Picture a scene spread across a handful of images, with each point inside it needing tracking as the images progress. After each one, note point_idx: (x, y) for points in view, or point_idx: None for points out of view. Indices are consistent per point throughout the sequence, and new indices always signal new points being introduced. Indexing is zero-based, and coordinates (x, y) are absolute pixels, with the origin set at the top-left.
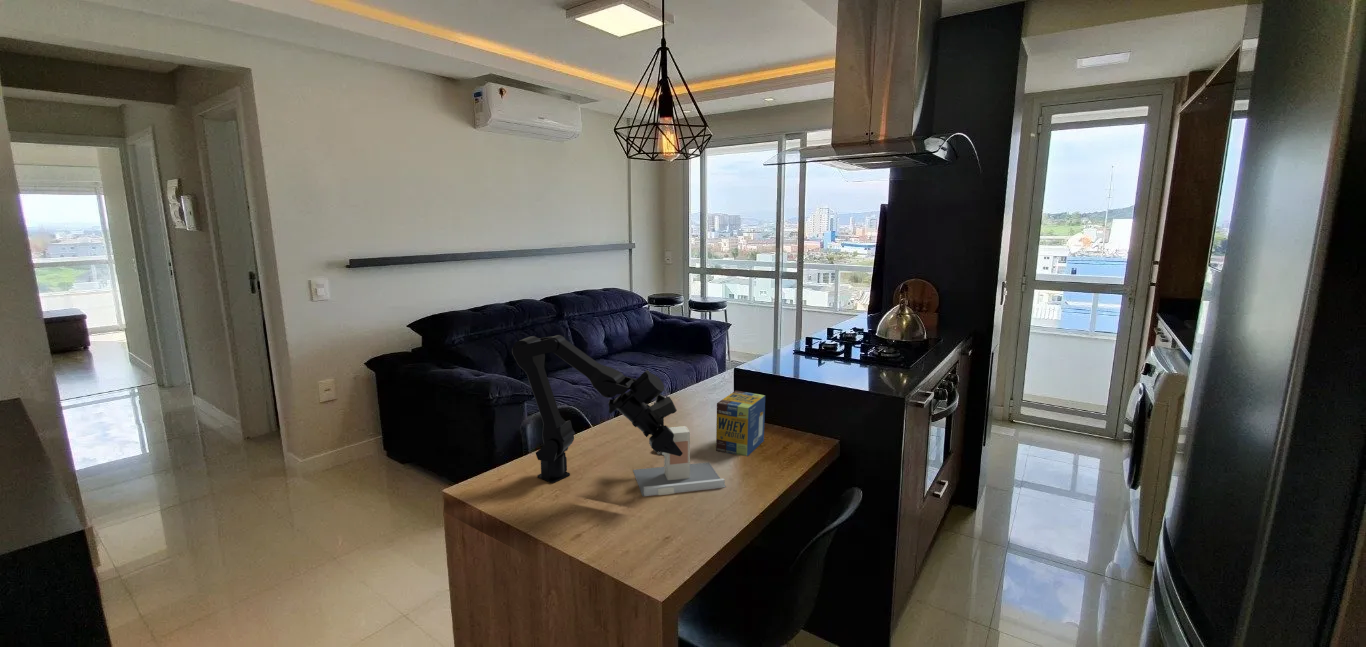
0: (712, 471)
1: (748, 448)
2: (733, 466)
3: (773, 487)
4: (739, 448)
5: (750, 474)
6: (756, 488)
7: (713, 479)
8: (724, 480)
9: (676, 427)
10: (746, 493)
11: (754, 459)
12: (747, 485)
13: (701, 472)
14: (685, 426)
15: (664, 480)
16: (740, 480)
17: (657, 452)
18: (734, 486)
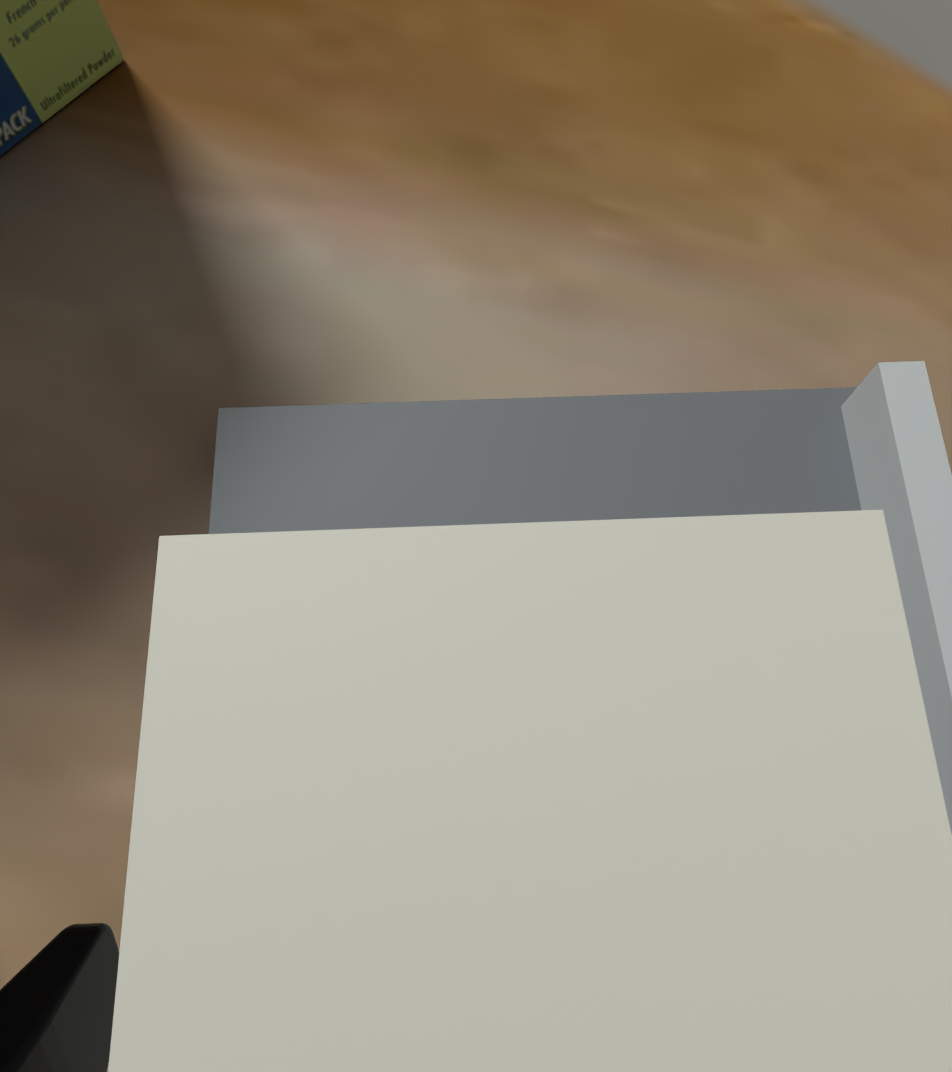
0: (472, 429)
1: None
2: (287, 213)
3: (777, 39)
4: (31, 39)
5: (496, 127)
6: (784, 157)
7: (680, 467)
8: (921, 365)
9: (189, 1026)
10: (877, 255)
11: (195, 20)
12: (716, 206)
13: None
14: (202, 557)
15: None
16: (605, 234)
17: None
18: (724, 313)
